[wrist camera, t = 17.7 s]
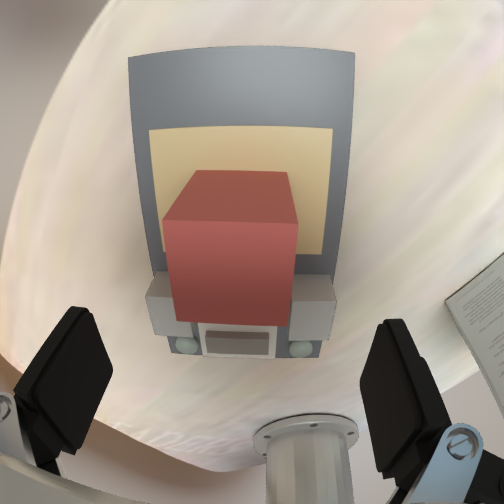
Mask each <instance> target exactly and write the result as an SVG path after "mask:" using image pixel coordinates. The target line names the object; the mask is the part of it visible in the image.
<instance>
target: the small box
mask: <svg viewBox="0 0 504 504" xmlns="http://www.w3.org/2000/svg"><path fill="white" fill-rule="evenodd" d="M445 303H446V304H447V306H448V308H449V310H450V312H451V314H452V316H453V318H454V320H455V322H456V324H457V326H458V328H459V330H460V332H461V334H462V336H463V338H464V340H465V342H466V344H467V346H468V347H469V349H470V351H471V353H472V355H473V357H474V359H475V360H476V362H477V364H478V366H479V368H480V370H481V372H482V374H483V376H484V378H485V380H486V382H487V384H488V386H489V388H490V390H491V392H492V394H493V396H494V398H495V400H496V403H497V405H498V407H499V409H500V411H501V413H502V416H503V418H504V254H503V255H502V256H501V257H500V258H498V259H497V260H496V261H495V262H494V263H493V264H492V265H490V266H489V267H488V268H487V269H486V270H485V271H483V272H482V273H481V274H480V275H478V276H477V277H476V278H475V279H473V280H472V281H471V282H470V283H468V284H467V285H466V286H465V287H463V288H462V289H461V290H460V291H458V292H457V293H456V294H454V295H453V296H452V297H450V298H449V299H448V300H446V301H445Z"/></svg>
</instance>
